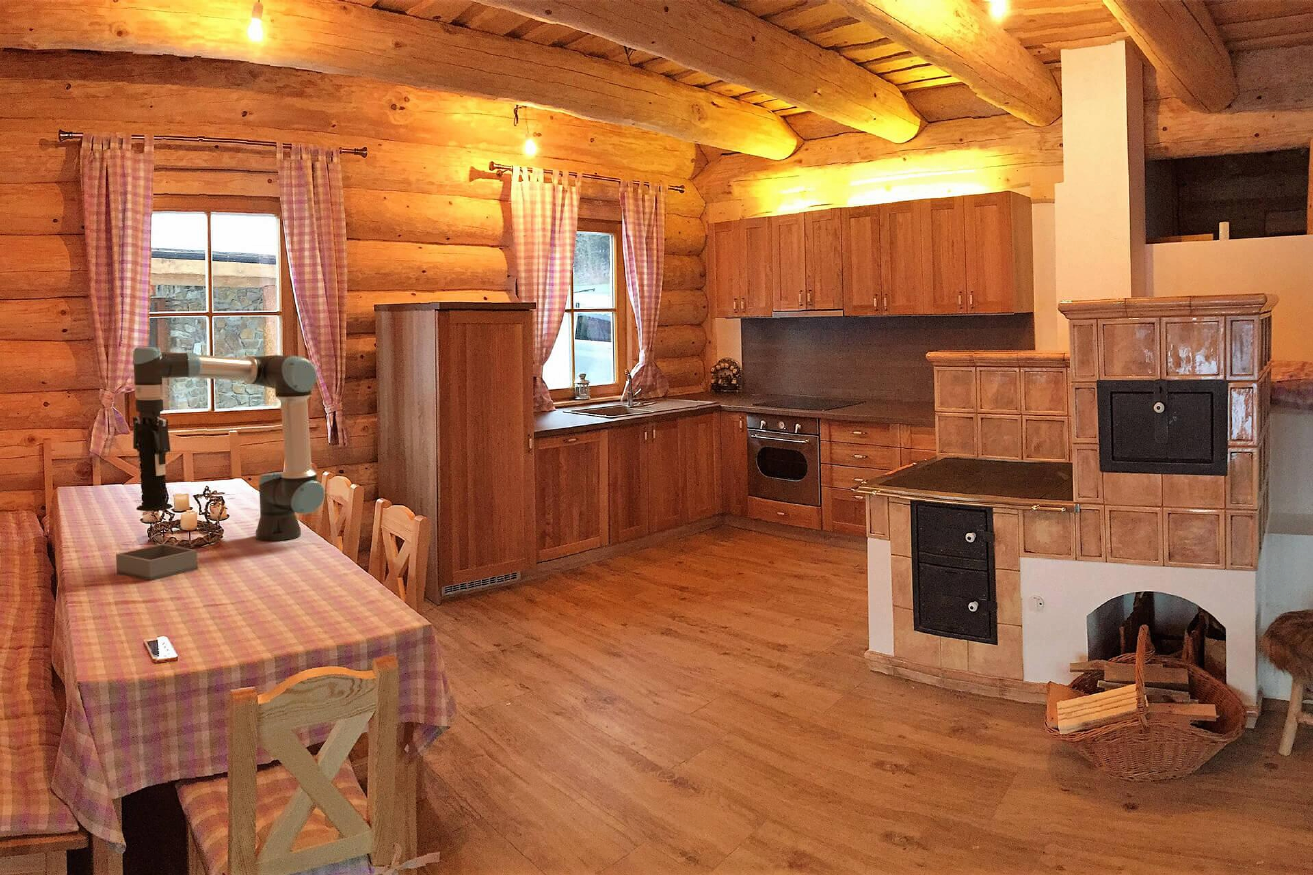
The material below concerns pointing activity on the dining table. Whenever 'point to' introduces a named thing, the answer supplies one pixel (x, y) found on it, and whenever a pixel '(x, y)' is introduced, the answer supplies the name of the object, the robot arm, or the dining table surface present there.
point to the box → (156, 562)
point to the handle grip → (150, 473)
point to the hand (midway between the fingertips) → (152, 473)
